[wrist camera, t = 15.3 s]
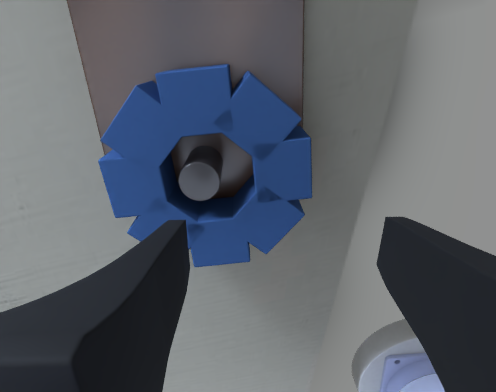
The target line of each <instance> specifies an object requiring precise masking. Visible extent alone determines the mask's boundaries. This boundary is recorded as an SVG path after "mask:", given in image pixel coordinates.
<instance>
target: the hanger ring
mask: <svg viewBox="0 0 496 392" xmlns="http://www.w3.org/2000/svg"><path fill="white" fill-rule="evenodd" d="M155 77H156V81H157V84H156V83H154V82H153V81H149V82H146V83H142V84H139V85H136V86H135V87H134V89H133V90H132V92H131V93H130V95H129V96H128V98H127V100H126V101H125V103H124V104H123V106H122V107H121V109H120V110H119V112H118V113H117V115H116V116H115V118H114V120H113V121H112V123H111V124H110V126H109V127H108V129H107V130H106V132H105V133H104V135H103V136H102V138H101V140H100V141H102V142H103V143H104V144H106V145H107V146H109V147H110V148H112V149H113V150H111V151H110V152H109V153H107V154H106V155H105V156H103V157H102V158H101V159H99V160H98V162H99V165H100V169H101V172H102V175H103V179H104V182H105V185H106V189H107V192H108V195H109V199H110V202H111V205H112V209H113V212H114V215H115V218H121V217H131V216H137V217H136V219H135V221H134V222H133V224H132V225H131V227H130V229H129V230H128V232H127V233H128V234H129V235H131V236H133V237H134V238H136V239H137V240H139V241H143V240H144V239H145V238H146V237H148V236H149V235H150V234H151V233H153V232H154V231H155V230H156V229H158V228H159V227H160V226H161V225H162V224H164V223H165V222H166V221H168V220H186V227H187V239H188V250H189V249H190V248H191V253H192V258H193V263H194V266H195V267H202V266H212V265H222V264H232V263H242V262H249V261H250V247H249V243H250V244H252V245H253V246H255V247H256V248H258V249H259V250H260V251H262V252H263V253H265V254H267V253H268V252H269V251H270V250H271V249H272V248H273V247H274V246H275V245H276V244H277V243H278V242H279V241H280V240H281V239H282V238H283V237H284V236H285V235H286V234H287V233H288V232H289V231H290V230H291V229H292V228H293V227H294V226H295V225H296V224H297V223H298V222H299V221H300V220H301V218H302V217H303V216H304V215H305V214H304V212H303V209H302V207H301V204H300V202H299V200H298V199H308V198H312V165H311V138H310V137H309V136H308V134H307V133H306V132H305V131H304V130H303V129H302V128H301V126H297V124H298V123H299V122H300V121H301V117H300V116H299V115H298V114H297V113H296V112H295V111H294V110H293V109H292V108H291V107H290V106H288V105H287V104H286V103H285V102H284V101H283V100H282V99H280V98H279V97H278V96H277V95H276V94H275V93H274V92H273V91H271V90H270V89H269V88H268V87H267V86H266V85H265V84H263V83H262V82H261V81H260V80H259V79H258V78H257V77H255V76H254V75H253V74H252V73H251V72H250V71H247V72H246V73H245V74H244V75H243V77H242V78H241V79H240V81H239V82H238V83H237V85H236V86H235V87H234V89H233V90H232V83H231V75H230V66H229V64H223V65H213V66H204V67H195V68H186V69H177V70H168V71H164V72H160V73H156V74H155ZM215 133H223V134H224V135H225V136H226V137H228V138H229V139H230V140H231V141H233V142H234V143H235V144H237V145H238V146H239V147H240V148H242V149H243V150H244V151H246V152H247V153H248V154H249V155H251V156H252V166H253V175H252V176H251V177H250V178H249V179H248V181H247V182H246V183H245V184H244V185H243V186H242V187H241V189H240V190H239V191H238V192H237V193H236V194H235V195H234V197H227V198H217V199H208V200H205V201H196V200H192V199H190V198H188V197H187V196H186V195H185V194H184V193H183V192H182V191H181V189H180V187H179V183H178V182H177V180H176V176H175V171H174V166H173V161H172V156H171V151H172V150H173V148H174V147H175V146H176V144H177V143H178V142H179V140H180V139H181V137H186V136H196V135H205V134H215Z"/></svg>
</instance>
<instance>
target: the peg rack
mask: <svg viewBox="0 0 496 392" xmlns="http://www.w3.org/2000/svg"><path fill="white" fill-rule="evenodd" d="M67 3H68V7H69V11H70V16H71V20H72V24H73V28H74V32H75V36H76V40H77V44H78V48H79V52H80V56H81V60H82V65H83V69H84V73H85V77H86V81H87V85H88V89H89V93H90V97H91V101H92V105H93V109H94V114H95V118H96V122H97V126H98V130H99V134H100V138H102V136H103V135H104V133H105V132H106V130H107V129H108V127H109V126H110V124H111V123H112V121H113V120H114V118H115V116H116V115H117V113H118V112H119V110H120V109H121V107H122V106H123V104H124V103H125V101H126V100H127V98H128V96H129V95H130V93H131V92H132V90H133V89H134V87H135V86H136V85H139V84H142V83H146V82H149V81H153V82H154V83H156V84H157V81H156V77H155V74H156V73H160V72H164V71H168V70H177V69H186V68H195V67H204V66H213V65H223V64H229V66H230V75H231V83H232V90H233V89H234V87H235V86H236V85H237V83H238V82H239V81H240V79H241V78H242V77H243V75H244V74H245V73H246V72H247V71H250V72H251V73H252V74H253V75H254V76H255V77H257V78H258V79H259V80H260V81H261V82H262V83H263V84H265V85H266V86H267V87H268V88H269V89H270V90H271V91H273V92H274V93H275V94H276V95H277V96H278V97H279V98H280V99H282V100H283V101H284V102H285V103H286V104H287V105H288V106H290V107H291V108H292V109H293V110H294V111H295V112H296V113H297V114H298V115H299V116H300V117H301V121H300V122H299V123H298V124H297V126H301V128H302V129H303V66H304V0H67ZM101 142H102V141H101ZM102 146H103V150H104V154H105V155H106V154H107V153H109V152H110V151H111V150H113V149H112V148H110V147H109V146H107V145H106V144H104V143H103V142H102ZM171 156H172V161H173V166H174V171H175V176H176V180H177V182H178V183H179V187H180V189H181V191H182V192H183V193H184V194H185V195H186V196H187V197H188V198H190V199H192V200H196V201H205V200H208V199H217V198H227V197H234V195H235V194H236V193H237V192H238V191H239V190H240V189H241V187H242V186H243V185H244V184H245V183H246V182H247V181H248V179H249V178H250V177H251V176H252V175H253V166H252V156H251V155H249V154H248V153H247V152H246V151H244V150H243V149H242V148H240V147H239V146H238V145H237V144H235V143H234V142H233V141H231V140H230V139H229V138H228V137H226V136H225V135H224V134H223V133H215V134H205V135H196V136H186V137H181V139H180V140H179V142H178V143H177V144H176V146H175V147H174V148H173V150H172V151H171Z"/></svg>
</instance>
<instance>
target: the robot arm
mask: <svg viewBox="0 0 496 392" xmlns="http://www.w3.org/2000/svg"><path fill="white" fill-rule="evenodd" d="M377 266H378V269H379V271H380V274H381V276H382V279H383V281H384V283H385V285H386V287H387V289H388V291H389V293H390V294H391V296H392V297H393V299H394V301H395V302H396V304H397V306H398V307H399V309H400V311H401V312H402V314H403V315H404V317H405V319H406V320H407V322H408V323H409V325H410V327H411V328H412V330H413V331H414V333H415V335H416V336H417V338H418V339H419V341H420V343H421V344H422V346H423V348H424V350H425V352H426V353H414V354H399V355H389V356H387V357H386V358H385V361H384V367H383V373H382V379H381V385H380V391H379V392H496V256H494V255H492V254H489V253H487V252H484V251H482V250H479V249H477V248H475V247H472V246H470V245H468V244H465V243H463V242H461V241H458V240H456V239H454V238H452V237H449V236H447V235H445V234H443V233H441V232H439V231H436V230H434V229H432V228H430V227H427V226H425V225H423V224H421V223H418V222H416V221H413V220H411V219H408V218H405V217H386V218H385V223H384V229H383V234H382V239H381V244H380V250H379V254H378V260H377ZM189 271H190V262H189V250H188V239H187V227H186V220H168V221H166V222H165V223H164V224H162V225H161V226H160V227H159V228H158V229H156V230H155V231H154V232H153V233H151V234H150V235H149V236H148V237H146V238H145V239H144V240H143V241H141V242H140V243H139V244H137V245H136V246H135V247H133V248H132V249H131V250H129V251H128V252H126V253H125V254H123V255H122V256H121V257H119V258H118V259H116V260H115V261H113V262H112V263H110V264H108V265H107V266H105V267H104V268H102V269H100V270H98V271H97V272H95V273H93V274H91V275H89V276H88V277H86V278H84V279H82V280H79V281H77V282H75V283H73V284H71V285H69V286H67V287H65V288H63V289H61V290H59V291H56V292H54V293H52V294H49V295H47V296H44V297H42V298H40V299H37V300H34V301H32V302H29V303H26V304H24V305H21V306H18V307H16V308H13V309H10V310H7V311H4V312H1V313H0V392H162V390H163V384H164V378H165V373H166V367H167V361H168V357H169V353H170V348H171V345H172V341H173V338H174V334H175V331H176V327H177V324H178V320H179V317H180V313H181V310H182V306H183V303H184V299H185V295H186V292H187V285H188V279H189Z"/></svg>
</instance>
